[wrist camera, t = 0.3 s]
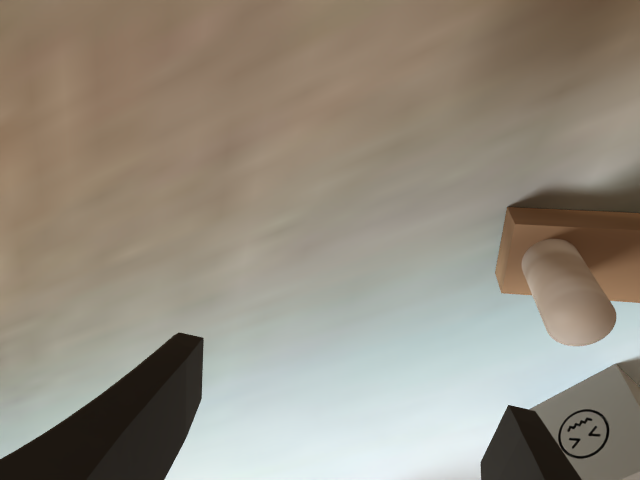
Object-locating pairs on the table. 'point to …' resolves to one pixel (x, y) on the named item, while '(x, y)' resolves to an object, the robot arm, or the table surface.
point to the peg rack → (571, 267)
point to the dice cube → (598, 425)
